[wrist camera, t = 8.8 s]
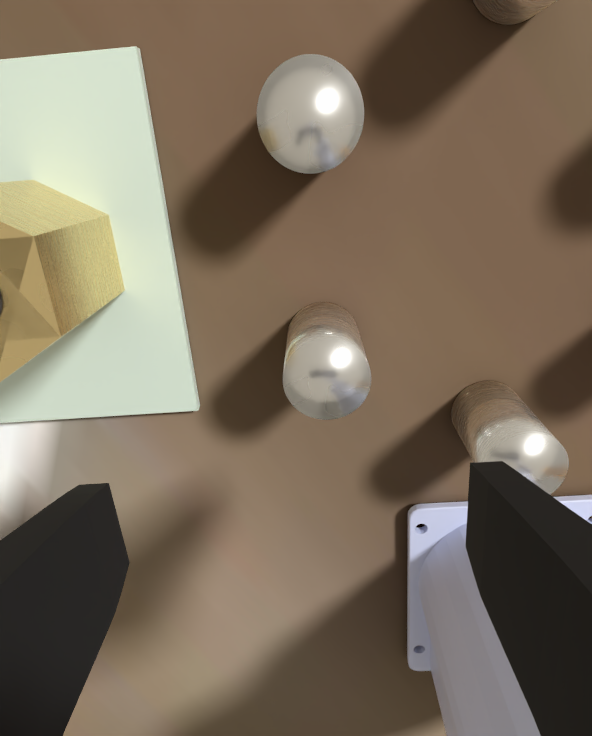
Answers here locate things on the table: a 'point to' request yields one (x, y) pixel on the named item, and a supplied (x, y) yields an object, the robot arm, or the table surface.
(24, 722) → the robot arm
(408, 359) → the table surface
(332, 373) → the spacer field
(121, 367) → the pad
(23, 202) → the brass nut
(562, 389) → the table surface
